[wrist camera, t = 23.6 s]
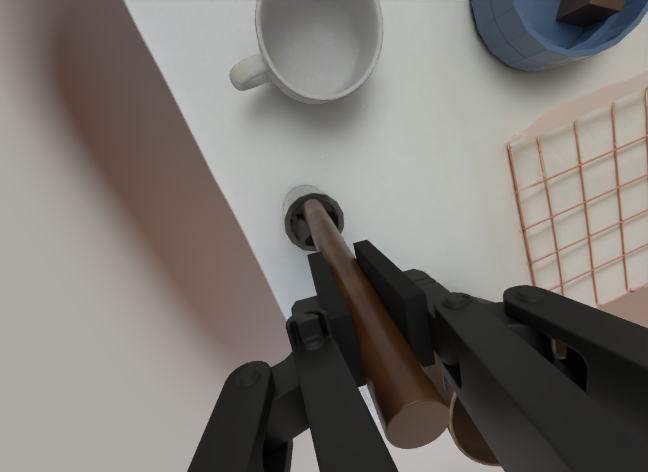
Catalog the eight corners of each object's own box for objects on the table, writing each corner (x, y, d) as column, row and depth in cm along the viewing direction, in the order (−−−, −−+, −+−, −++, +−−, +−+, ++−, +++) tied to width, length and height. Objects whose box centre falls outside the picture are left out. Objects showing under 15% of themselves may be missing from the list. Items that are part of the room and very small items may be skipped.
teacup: (345, -13, 31) (368, -69, 23) (370, 97, 34) (397, 80, 26) (214, 22, 30) (192, -24, 22) (251, 132, 33) (244, 125, 25)
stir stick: (302, 219, 26) (383, 455, 8) (301, 199, 26) (388, 406, 7) (323, 218, 27) (446, 442, 8) (322, 198, 26) (456, 394, 8)
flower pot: (471, 247, 41) (588, 301, 25) (495, 334, 45) (607, 425, 30) (371, 292, 40) (429, 375, 25) (404, 376, 44) (471, 490, 29)
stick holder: (273, 207, 35) (271, 222, 27) (307, 174, 35) (316, 180, 26) (304, 238, 37) (312, 263, 28) (337, 208, 37) (355, 223, 28)
